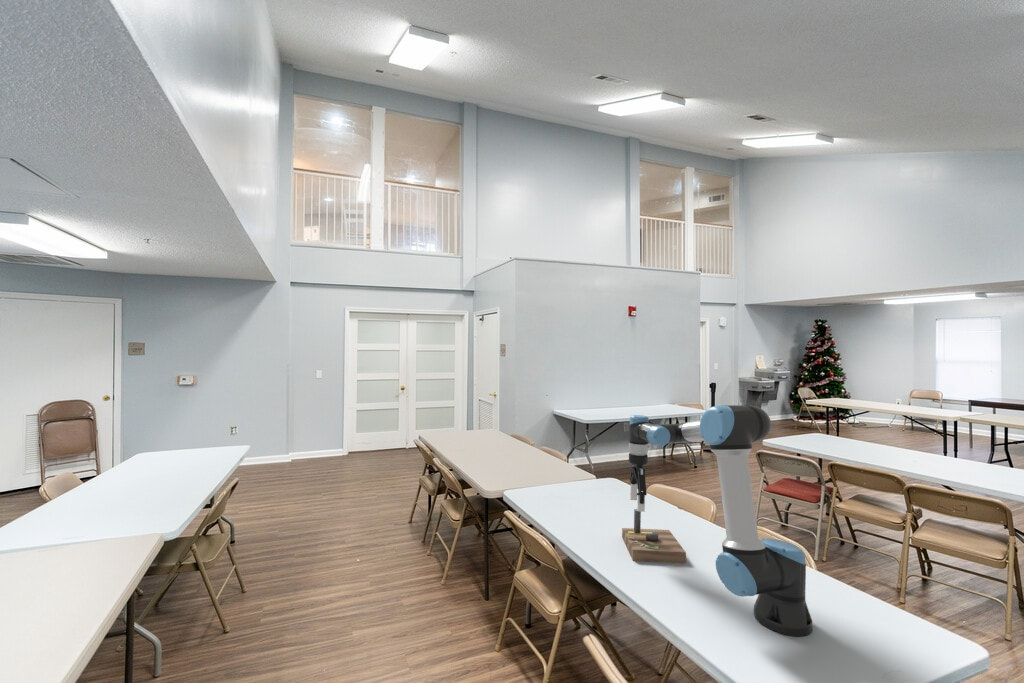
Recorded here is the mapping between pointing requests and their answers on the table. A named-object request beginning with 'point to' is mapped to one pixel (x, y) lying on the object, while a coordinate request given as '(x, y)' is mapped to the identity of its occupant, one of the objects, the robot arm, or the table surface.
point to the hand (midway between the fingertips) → (637, 505)
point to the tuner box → (654, 546)
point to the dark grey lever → (637, 528)
